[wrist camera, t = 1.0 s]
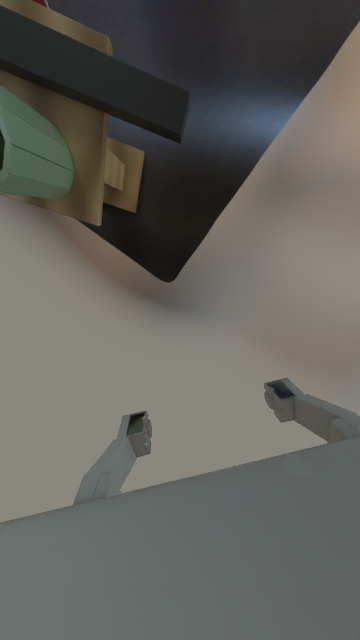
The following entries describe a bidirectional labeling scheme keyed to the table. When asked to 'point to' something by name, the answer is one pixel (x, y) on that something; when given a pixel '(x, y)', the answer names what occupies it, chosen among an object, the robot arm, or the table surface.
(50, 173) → the green cup
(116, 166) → the birch stand
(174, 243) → the table surface
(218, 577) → the robot arm
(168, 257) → the table surface
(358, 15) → the table surface
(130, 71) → the black bar
